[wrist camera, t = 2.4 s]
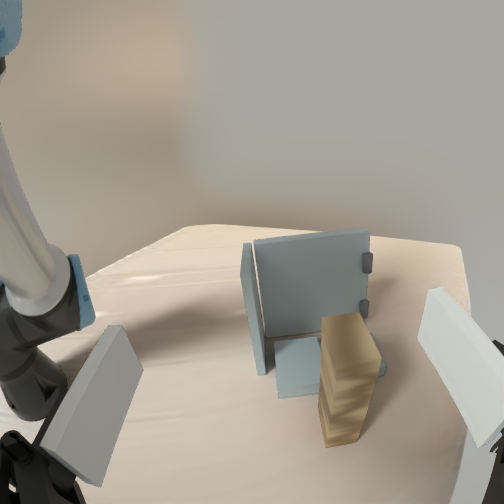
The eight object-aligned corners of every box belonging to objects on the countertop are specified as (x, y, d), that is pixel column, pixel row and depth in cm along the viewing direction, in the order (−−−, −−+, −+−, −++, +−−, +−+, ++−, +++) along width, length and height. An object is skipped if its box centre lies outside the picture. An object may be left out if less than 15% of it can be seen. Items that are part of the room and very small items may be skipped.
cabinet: (258, 400, 36) (237, 297, 29) (257, 331, 51) (243, 241, 44) (390, 378, 35) (414, 273, 28) (361, 317, 50) (367, 227, 42)
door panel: (325, 448, 27) (337, 367, 21) (318, 406, 33) (321, 317, 27) (356, 441, 27) (381, 358, 20) (346, 401, 33) (358, 311, 27)
